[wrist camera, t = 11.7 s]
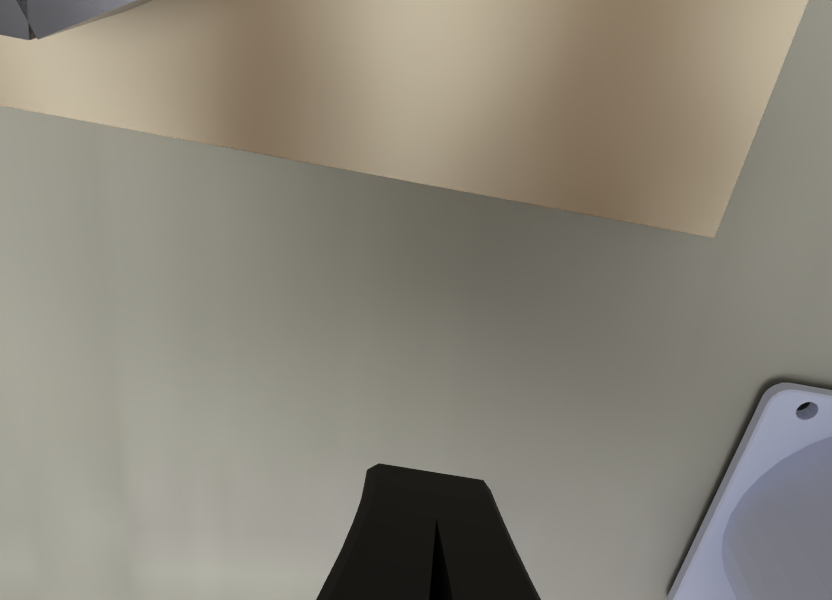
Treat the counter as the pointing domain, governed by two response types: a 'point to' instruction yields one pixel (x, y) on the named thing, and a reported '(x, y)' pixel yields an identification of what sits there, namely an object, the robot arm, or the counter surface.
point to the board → (442, 91)
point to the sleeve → (55, 15)
